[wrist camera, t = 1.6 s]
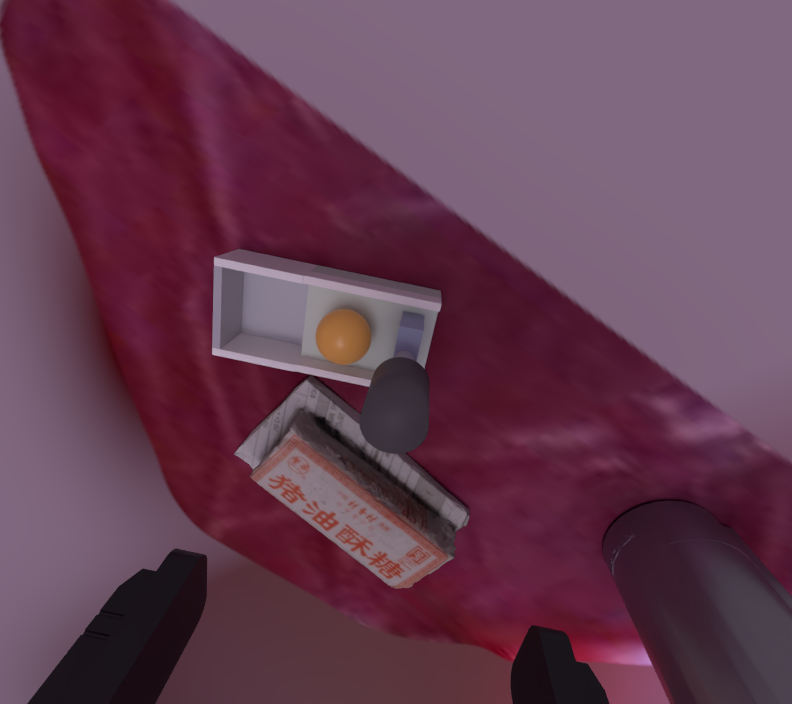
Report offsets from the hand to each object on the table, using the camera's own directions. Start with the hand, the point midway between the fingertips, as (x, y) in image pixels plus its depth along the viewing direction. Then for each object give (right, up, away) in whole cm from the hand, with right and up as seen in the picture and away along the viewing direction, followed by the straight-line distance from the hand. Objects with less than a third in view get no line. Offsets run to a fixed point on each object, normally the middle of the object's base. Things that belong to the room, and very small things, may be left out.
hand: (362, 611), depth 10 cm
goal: (-8, +10, +19) cm, 23 cm away
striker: (+2, +7, +17) cm, 19 cm away
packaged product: (-2, -4, +25) cm, 26 cm away
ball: (-2, +7, +16) cm, 18 cm away
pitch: (-1, +8, +19) cm, 21 cm away
